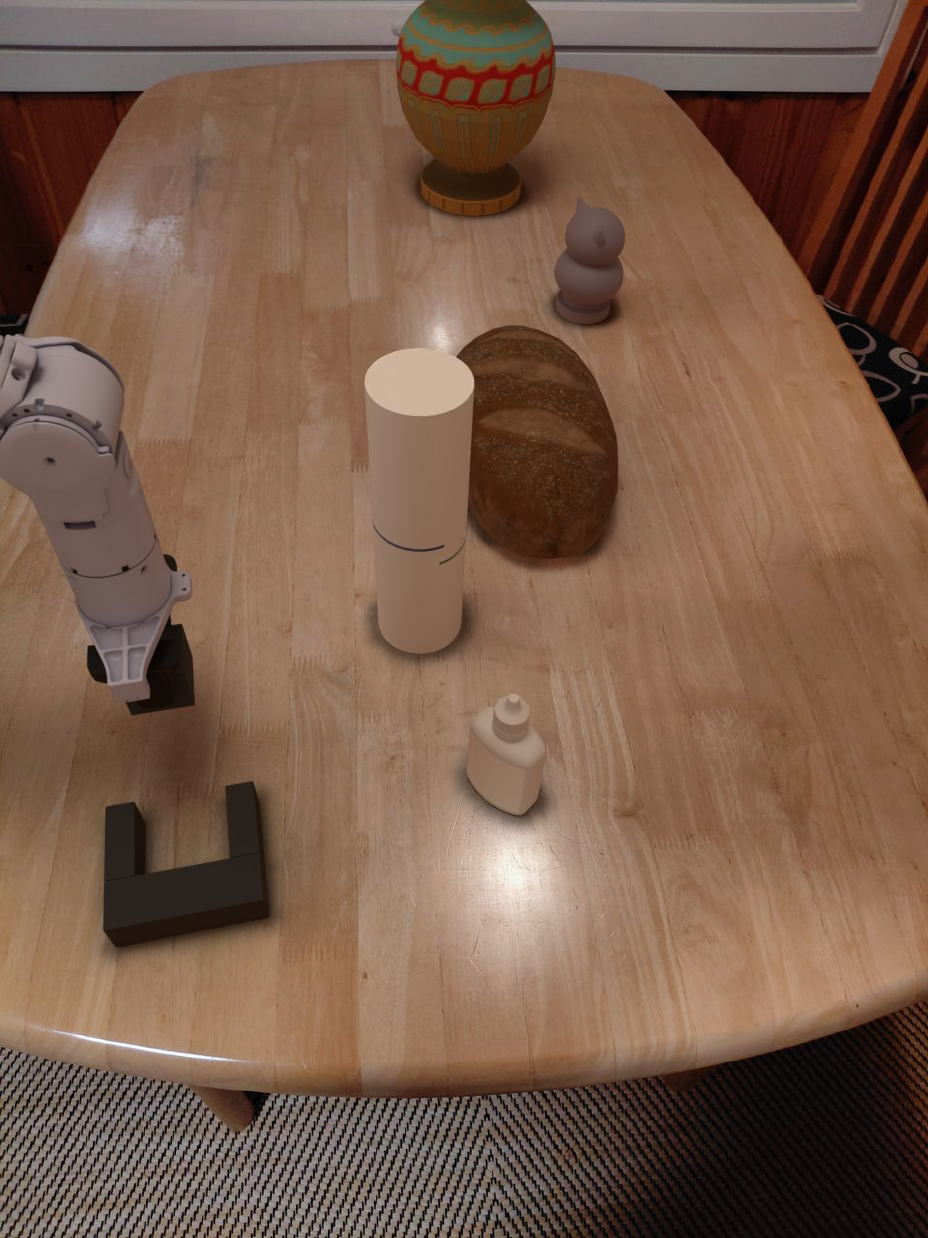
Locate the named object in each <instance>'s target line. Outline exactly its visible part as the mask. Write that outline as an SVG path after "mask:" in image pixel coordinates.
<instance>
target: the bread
mask: <svg viewBox="0 0 928 1238" xmlns="http://www.w3.org/2000/svg"><path fill="white" fill-rule="evenodd" d="M455 357H456V358H458V359H459V360H461V361H462V362H463V363H464V364H466V365H467V366H468V368H469V369H470V371H471V372H472V375H473V377H474V398H473V416H472V435H471V453H470V472H469V490H468V510H469V512H470V514H471V516H472V518H473V519H474V520H475V521H476V522H477V523H478V525H479V526H480V528H481V529H482V530H483V531H484V532H486V533H487V534H488V535H489V537H491V538H492V539H493V540H495V541H496V542H497V543H498V544H500V545H501V546H502V547H504V548H506V549H507V550H509V551H511V552H512V553H515V554H517V555H518V556H520V557H522V558H524V559H533V560H545V561H547V560H548V561H549V560H560V559H561V560H562V559H569V558H573V557H576V556H580V555H582V554H584V553H585V552H586V551H587V550H588V549H590V547H592V546H593V545H594V544H595V542H596V541H597V540H598V538H599V536H600V535H601V533H602V532H603V530H604V528H605V527H606V525H607V523H608V521H609V519H610V516H611V514H612V511H613V508H614V506H615V503H616V499H617V495H618V490H619V489H618V488H619V453H618V452H619V450H618V436H617V433H616V429H615V426H614V423H613V420H612V417H611V414H610V411H609V409H608V405H607V403H606V400H605V399H604V398H605V397H604V396H603V394H602V391H601V389H600V386H599V384H598V382H597V380H596V378H595V375H594V374H593V373H592V371H591V370H590V369H589V367H588V366H587V365H586V363H585V362H584V360H583V359H582V358H581V357H580V355H579V354H578V353H577V352H576V351H575V350H574V349H572V348H571V347H570V346H569V345H568V344H567V343H566V342H564V341H563V340H562V339H560V337H557V336H555V335H552V334H549V333H548V332H545V331H543V330H541V329H539V328H533V327H529V326H526V325H518V324H517V325H516V324H515V325H514V324H508V325H504V326H498V327H493V328H491V329H490V330H488V331H486V332H483V333H481V334H479V335H477V336H475V337H474V338H473V339H472V340H471V341H469V342H468V343H467V344H466V345H465V346H463V347H462V349H461V350H460V351H459V352H458V353H457V355H456V356H455Z"/></svg>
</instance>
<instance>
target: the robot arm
mask: <svg viewBox="0 0 928 1238" xmlns="http://www.w3.org/2000/svg"><path fill="white" fill-rule="evenodd" d="M124 408H125V386H124V381H123V379H122V376H121V374H120V373H119V371H118V369H117V368H116V367H115V365H114V364H113V363H112V362H111V361H110V360H108V358H107V357H105V356H104V355H103V354H101V353H100V352H98V351H97V350H95V349H94V348H91V347H89V346H87V345H86V344H85V343H83V342H82V341H81V340H79V339H76V338H72V337H67V336H57V335H56V336H55V335H54V336H53V335H52V336H43V337H38V338H31V337H25V336H23V335H20V334H18V333H16V334H15V335H14V336H13V335H10V334H6V335H5V336H3V335H1V334H0V478H1V479H2V480H3V481H4V482H6V483H7V484H8V485H10V486H11V487H13V488H14V489H15V490H17V491H19V492H20V493H23V494H24V495H26V496H27V497H28V498H29V499H30V500H31V501H32V504H33V507H35V510H36V512H37V514H38V517H39V518H40V521H41V523H42V526H43V528H44V530H45V533H46V535H47V537H48V539H49V541H50V543H51V546H52V548H53V550H54V553H55V555H56V557H57V560H58V562H59V565H60V566H61V568H62V569H61V570H62V571H63V573H64V575H65V578H66V579H67V582H68V584H69V586H70V588H71V590H72V593H73V594H74V604H75V607H76V610H77V612H78V615H79V617H80V619H81V621H82V623H83V626H84V627H85V629H86V631H87V633H88V635H89V637H90V640H91V641H92V643H93V644H91V645H87V647H86V648H87V649H86V668H87V670H88V672H89V674H90V676H91V678H92V679H93V681H95V682H97V683H101V684H106V685H107V687H108V690H109V692H110V694H111V696H112V699H113V701H114V703H115V704H116V705H117V704H123V703H126V702H132V701H135V702H136V703H137V704H138V705H139V706H141V707H142V708H143V709H144V710H147V709H153V708H159V707H165V706H171V705H173V702H174V682H173V675H174V673H175V671H176V670H177V669H178V668H179V664H180V659H181V646H180V637H178V638H172V639H165V640H159V639H160V637H161V634H162V632H163V630H164V627H165V626H168V625H172V614H171V613H172V611H173V608H174V606H175V605H176V604H178V603H181V602H186V601H189V600H190V599H191V598H192V597H193V581H192V578H191V575H190V572H188V571H186V570H178V564H177V560H176V559H175V557H174V556H172V555H170V554H167V553H164V552H163V550H162V546H161V542H160V540H159V537H158V534H157V531H156V526H155V523H154V521H153V517H152V514H151V511H150V508H149V505H148V502H147V497H146V495H145V492H144V488H143V486H142V482H141V480H140V477H139V473H138V471H137V468H136V466H135V465H134V461H133V459H132V455H131V452H130V449H129V446H128V443H127V439H126V436H125V434H124V432H123V430H121V424H122V418H123V413H124Z"/></svg>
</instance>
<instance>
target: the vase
mask: <svg viewBox="0 0 928 1238" xmlns="http://www.w3.org/2000/svg"><path fill="white" fill-rule="evenodd" d="M396 48H397V49H396V58H395V61H396V62H395V68H396V69H395V71H396V72H395V73H396V86H397V87H396V89H397V93H398V98H399V102H400V106H401V110H402V112H403V116H404V117H405V120H406V122H407V123H408V126H409V128H410V130H411V132H412V134H413V135H414V137H415V139H416V140H417V141H418V143H419V144H420V145H421V146H422V147H423V148H424V149H425V150H426V151H427V152H428V153H429V154H430V155H431V156H433V157H434V158H435V159H433V160H431V161H430V162H429V163H427V164H426V165H425V166H424V167H423V168H422V170H421V172H420V193H421V195H422V197H423V199H424V201H426V202H427V203H428V204H429V205H431V206H432V207H435V208H436V209H438V210H441V211H444V212H446V213H450V214H455V215H461V216H475V217H477V216H487V215H493V214H497V213H501V212H504V211H506V210H508V209H510V208H512V207H513V206H514V205H515V204H516V203H517V202H518V201H519V199H520V196H521V191H522V176H521V174H520V172H519V171H518V169H517V168H515V167H514V166H513V165H511V164H510V163H509V161H511V160H512V159H514V158H515V157H516V156H517V155H518V154H520V153H521V152H522V151H523V150H524V149H525V148H526V147H527V146H528V145H529V144H530V143H532V141H533V139H534V138H535V136H536V134H537V132H538V131H539V129H540V127H541V126H542V124H543V121H544V120H545V117H546V114H547V111H548V108H549V104H550V102H551V98H552V96H553V93H554V91H553V90H554V84H555V78H556V71H557V70H556V67H557V66H556V61H557V60H556V57H557V56H556V52H555V51H556V50H555V45H554V39H553V35H552V32H551V30H550V28H549V25H548V24H547V22H546V21H545V19H544V18H543V17H542V16H541V14H539V12H538V11H537V10H536V9H535V8H534V7H533V6H532V5H531V4H530V3H529V2H528V1H527V0H424V1H423V2H422V3H420V4H419V5H418V6H417V7H416V8H415V9H414V10H413V11H412V13H410V15H409V16H408V18H407V19H406V20H405V22H404V24H403V25H402V27H401V30H400V34H399V37H398V41H397V47H396ZM520 188H521V189H520ZM517 194H518V195H517Z"/></svg>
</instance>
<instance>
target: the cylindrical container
mask: <svg viewBox="0 0 928 1238" xmlns="http://www.w3.org/2000/svg"><path fill="white" fill-rule="evenodd" d="M364 395H365V396H364V398H365V400H364V401H365V416H366V432H367V447H368V450H367V451H368V465H369V467H368V469H369V485H370V486H369V487H370V503H371V519H372V535H373V536H372V537H373V538H372V539H373V552H374V553H373V554H374V555H373V557H374V571H375V572H374V573H375V587H376V588H375V589H376V606H377V624H378V628H379V632H380V634H381V635H382V637H383V638H384V640H385V641H386V642H388V644H390V645H391V646H392V647H394V648H395V649H397V650H398V651H402V652H405V653H409V654H413V655H414V654H415V655H419V654H420V655H425V654H431V653H435V652H438V651H440V650H442V649H444V648H446V647H448V646H449V645H450V644H451V643H453V642H454V640H455V639H456V638H457V637H458V636H459V633H460V631H461V627H462V620H463V601H464V599H463V598H464V582H465V566H466V565H465V563H466V546H467V545H466V543H467V527H468V526H467V524H468V510H469V508H468V490H469V472H470V453H471V435H472V416H473V398H474V377H473V375H472V372H471V371H470V369H469V368H468V366H467V365H466V364H464V363H463V362H462V361H461V360H459V359H458V358H456V356H455V355H452V354H450V353H447V352H445V351H441V350H437V349H434V348H433V349H431V348H425V347H423V348H421V347H414V348H413V347H412V348H404V349H399V350H395V351H392V352H389V353H387V354H385V355H383V356H381V357H379V358H378V359H376V361H374V362H373V363H372V364H371V365H370V366H369V368H368V369H367V371H366V372H365V375H364Z"/></svg>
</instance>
